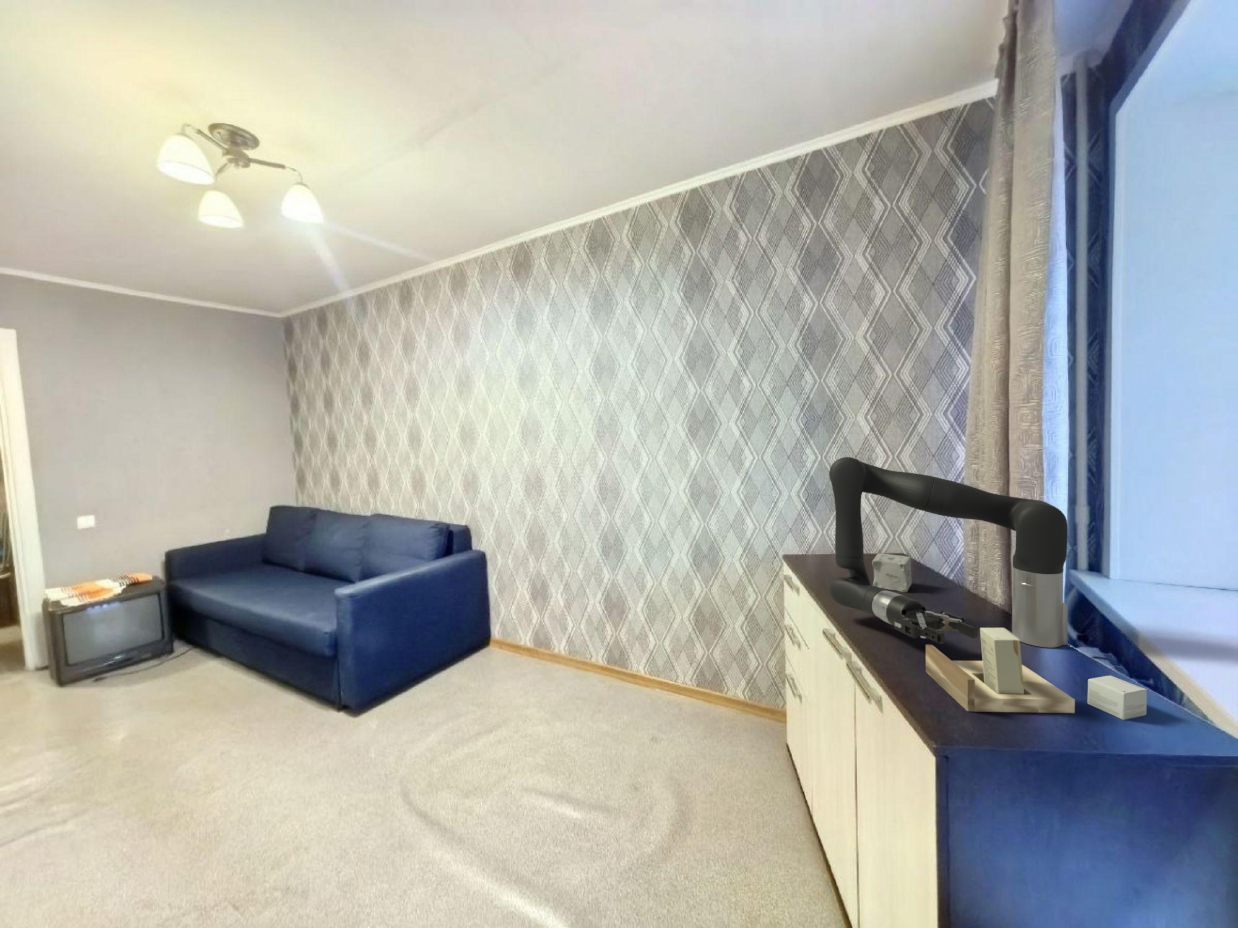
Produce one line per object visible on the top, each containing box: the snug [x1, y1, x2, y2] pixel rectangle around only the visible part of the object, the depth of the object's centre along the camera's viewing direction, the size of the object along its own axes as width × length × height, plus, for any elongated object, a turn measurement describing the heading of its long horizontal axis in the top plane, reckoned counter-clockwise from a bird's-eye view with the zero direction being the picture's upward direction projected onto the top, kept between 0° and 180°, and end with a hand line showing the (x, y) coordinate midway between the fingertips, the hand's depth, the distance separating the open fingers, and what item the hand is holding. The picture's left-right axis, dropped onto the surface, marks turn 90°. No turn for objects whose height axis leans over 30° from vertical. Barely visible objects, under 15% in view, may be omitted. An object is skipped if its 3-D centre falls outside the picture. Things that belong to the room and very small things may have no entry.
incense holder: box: [871, 552, 913, 593], centre depth 160 cm, size 10×8×10 cm
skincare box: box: [979, 627, 1024, 695], centre depth 95 cm, size 6×4×12 cm
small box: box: [1086, 675, 1148, 721], centre depth 90 cm, size 6×6×5 cm
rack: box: [925, 644, 1076, 714], centre depth 97 cm, size 18×15×6 cm
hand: (959, 636), depth 104 cm, fingers open, 8 cm apart
